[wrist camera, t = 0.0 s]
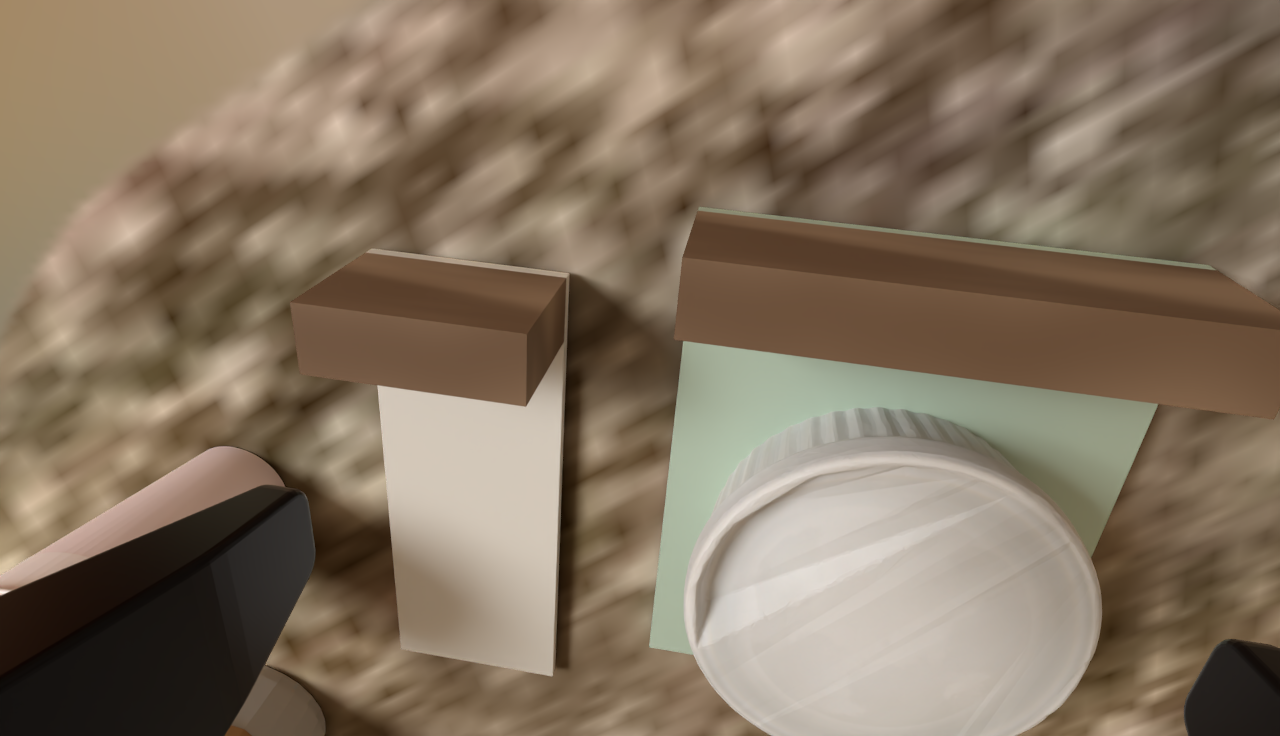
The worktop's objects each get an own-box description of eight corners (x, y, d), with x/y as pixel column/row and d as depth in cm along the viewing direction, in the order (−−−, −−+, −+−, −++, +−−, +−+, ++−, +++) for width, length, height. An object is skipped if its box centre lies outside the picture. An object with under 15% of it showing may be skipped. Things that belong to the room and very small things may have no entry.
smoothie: (130, 416, 27) (-398, 771, 15) (291, 408, 26) (-141, 788, 14) (197, 559, 30) (-203, 960, 18) (346, 558, 29) (27, 987, 17)
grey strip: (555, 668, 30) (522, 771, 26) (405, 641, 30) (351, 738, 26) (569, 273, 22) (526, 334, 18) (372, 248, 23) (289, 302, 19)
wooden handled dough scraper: (1020, 702, 27) (1062, 824, 23) (650, 638, 28) (631, 744, 24) (1208, 265, 20) (1318, 334, 16) (698, 206, 21) (682, 257, 17)
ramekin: (776, 309, 23) (781, 393, 18) (1116, 442, 23) (1207, 557, 19) (648, 572, 28) (627, 689, 24) (929, 677, 29) (963, 813, 24)
